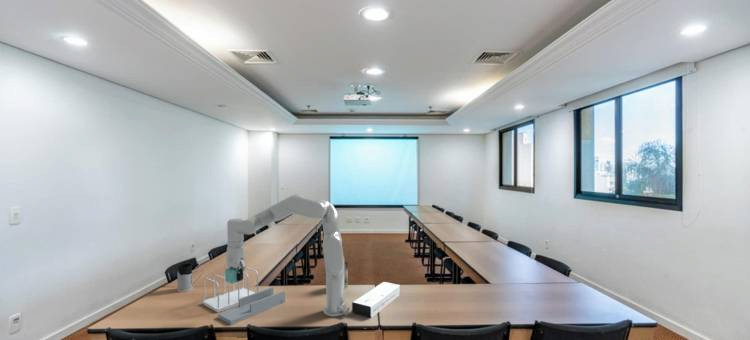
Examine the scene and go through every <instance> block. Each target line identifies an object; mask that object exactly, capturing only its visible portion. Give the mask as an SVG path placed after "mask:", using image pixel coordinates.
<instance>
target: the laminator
mask: <svg viewBox="0 0 750 340" xmlns="http://www.w3.org/2000/svg"><path fill="white" fill-rule="evenodd" d="M400 294H401V285H400V284H396V283H392V282H387V281H383V282H381V283H379V284H378V285H377V286H375V287H374V288H372V289H370V290H369V291H367V292H366V293H364V294H362V295H361V296H360V297H358V298H357V299H355V300H354V301H352V303H351V311H352V313H353V314H355V315H356V314H357V315H359V316H364V317H368V318H370V319H371V318H373V317H374V316H376V315H377V314H378V313H379V312H380V311H382V310H383V309H384V308H385V307H387V305H389V304H391V303H392V302H393V301H394V300H395V299H397V298H398V297H399V296H400Z"/></svg>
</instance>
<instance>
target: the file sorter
mask: <svg viewBox="0 0 750 340" xmlns="http://www.w3.org/2000/svg"><path fill="white" fill-rule="evenodd" d="M245 269H247V270H250V271H253V272H255V273H256V292H255V291H253V290H251V289H250V288H249V287H250V284H249V283H250V282H249V281H250V280H249V275H248V273H246V272H243V280H242V281H241V282H242V283H241V284H242V287H241V288H240V281H239V282H237V289H235V283H233V288H232V290H231V291H230V287H231V286H230V284H231V283H229V282H227V285H228V288H227V292H226V281H225V272H224V273H223V276H221V275H218V274H214V275H213V279H211V278H209V277H205V278H204V280H203V300H201V304H202V305H204V306H205V307H207V308H209V309H211V311H214V312H216V313H221V312H224V311H227V310H230V309H233V308H235V307H238V306H239V299H240V298H243V297H246V296H248V295H251V294H254V293H257V292H259V272H258V271H257V270H256V269H253V268H251V267H247V266H246V267H245ZM244 275H246V278H247V288H245V287H244V283H245V282H244ZM216 277H218V278H221V279H223V293H222V294H220V285H219V283H218V281H215V280H216ZM206 280H208V281H210V282H212V283H213V297H210V298H206ZM216 286H217V295H216Z"/></svg>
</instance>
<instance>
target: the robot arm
mask: <svg viewBox="0 0 750 340" xmlns="http://www.w3.org/2000/svg"><path fill="white" fill-rule="evenodd" d="M293 214H296V215H300V216H304V217H307V218H310V219H317V220H318V219H321V222H322V223H321V224H322V230H323V239H322V240H323V241H322V251H323V259H324V260H323V261H324V269H325V286H326V287H325V292H326V293H325V297H326V298H325V299H326V302H325V303H326V304H325V305H326V306H325V307H324V308H323V310H322V311H323V314H324V315H325V316H328V317H341V316H343V315H345V314H349V311H350V307H349V306H347V303H346V302H345V288H344V261H345V256H344V251H343V250H344V249H343V239H342V235H341V227H340V223H339V222H340V221H339V215H338V212H337V209H336V208H335V206H334V205H333V204H332V203H331V202H329V201H327V200H326V199H322V198H317V199H315V200H313V199H308V198H305V197H304V196H303V195H302V194H300V193H295V194H292V195H290V196H289V197H287V198H285V199H283V200H280V201H279V202H276V203H275V204H272V205H270V206H269V207H268V208H267V209H265V210H263V211H261V212H259V213H257V214H255V215H253V216H251V217H248V218H247V219H245V220H243V219H241V218H231V219H229V220H228V221H227V223H226V224H227V226H226V229H227V235H226V236H227V247H226V257H225V258H226V260H225V264H226V265H227V266H228V268H232V267H234V268H237V272H238V273H237V281H239V282H241V281H240V280H243V272H244V271H245V269H246V268H245V267H247V266H246V264H245V263H246V258H245V257H246V255H245V248H244V247H245V245H244V244H245V243H244V242H245V241H244V239H245V238H244V236H245V235H252V234H255V233H257V231H258V230H260V229H261V228H263V227H265V226H268V225H269V224H271V223H274V222H280V221H282V220H283V219H286V218H287V217H289V216H291V215H293ZM239 268H240V270H239Z"/></svg>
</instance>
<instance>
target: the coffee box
mask: <svg viewBox="0 0 750 340" xmlns="http://www.w3.org/2000/svg"><path fill="white" fill-rule="evenodd" d="M348 263H349V262H348V261H347V260H344V289H346V288H348V287H349V277H348V276H349V273H348V272H349V271H348V270H349V269H348V268H349V267H348V265H349V264H348Z"/></svg>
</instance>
